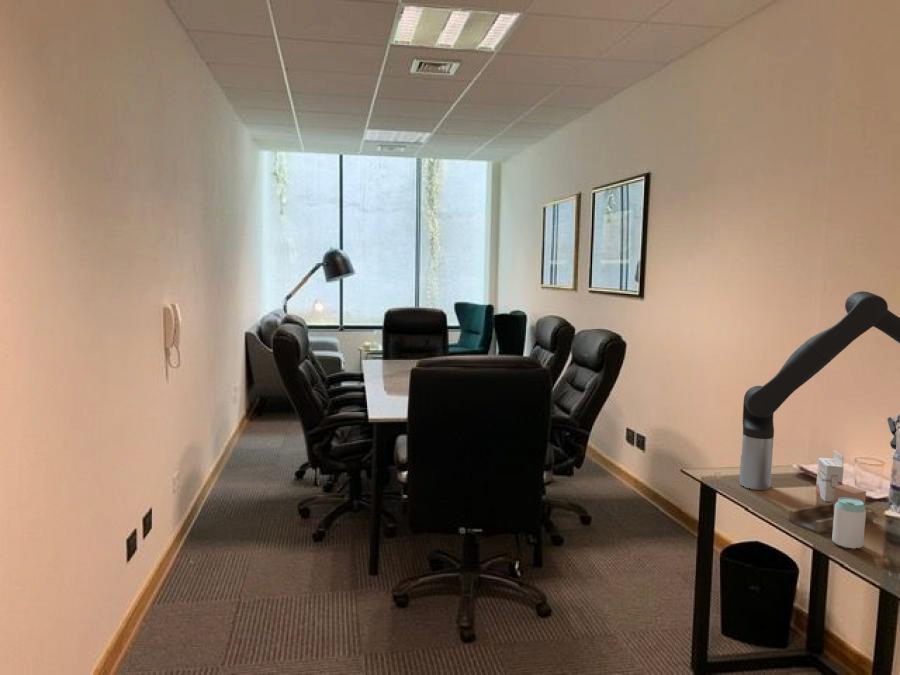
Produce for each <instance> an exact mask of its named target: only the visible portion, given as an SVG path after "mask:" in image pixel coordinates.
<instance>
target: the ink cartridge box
mask: <svg viewBox="0 0 900 675" xmlns="http://www.w3.org/2000/svg"><path fill="white" fill-rule="evenodd" d="M843 478H844V457H843V456H842V455H841V453H840V452H838V451H837V450H835V449H834V450H833V458H829V457H828V458H827V457H818V458H817V473H816V485H815V486H816V487H815V493H816V494H817V495H818V496H819V497H820V499H822V501H824V502H826V503H831V502H833V501H834V489H835V486H841V485H843Z"/></svg>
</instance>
